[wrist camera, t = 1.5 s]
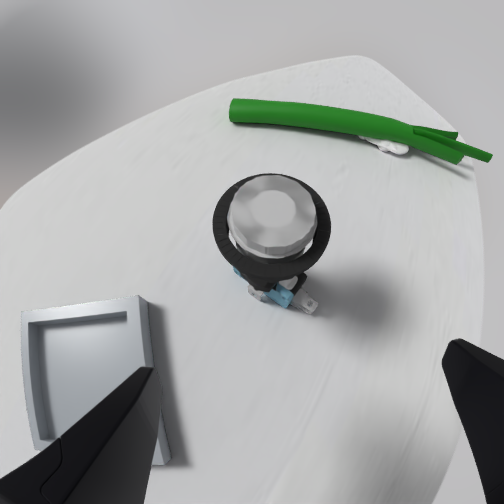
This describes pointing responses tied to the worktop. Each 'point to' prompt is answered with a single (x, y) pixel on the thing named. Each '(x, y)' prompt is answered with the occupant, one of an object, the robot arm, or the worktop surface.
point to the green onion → (357, 127)
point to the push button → (273, 235)
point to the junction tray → (82, 362)
